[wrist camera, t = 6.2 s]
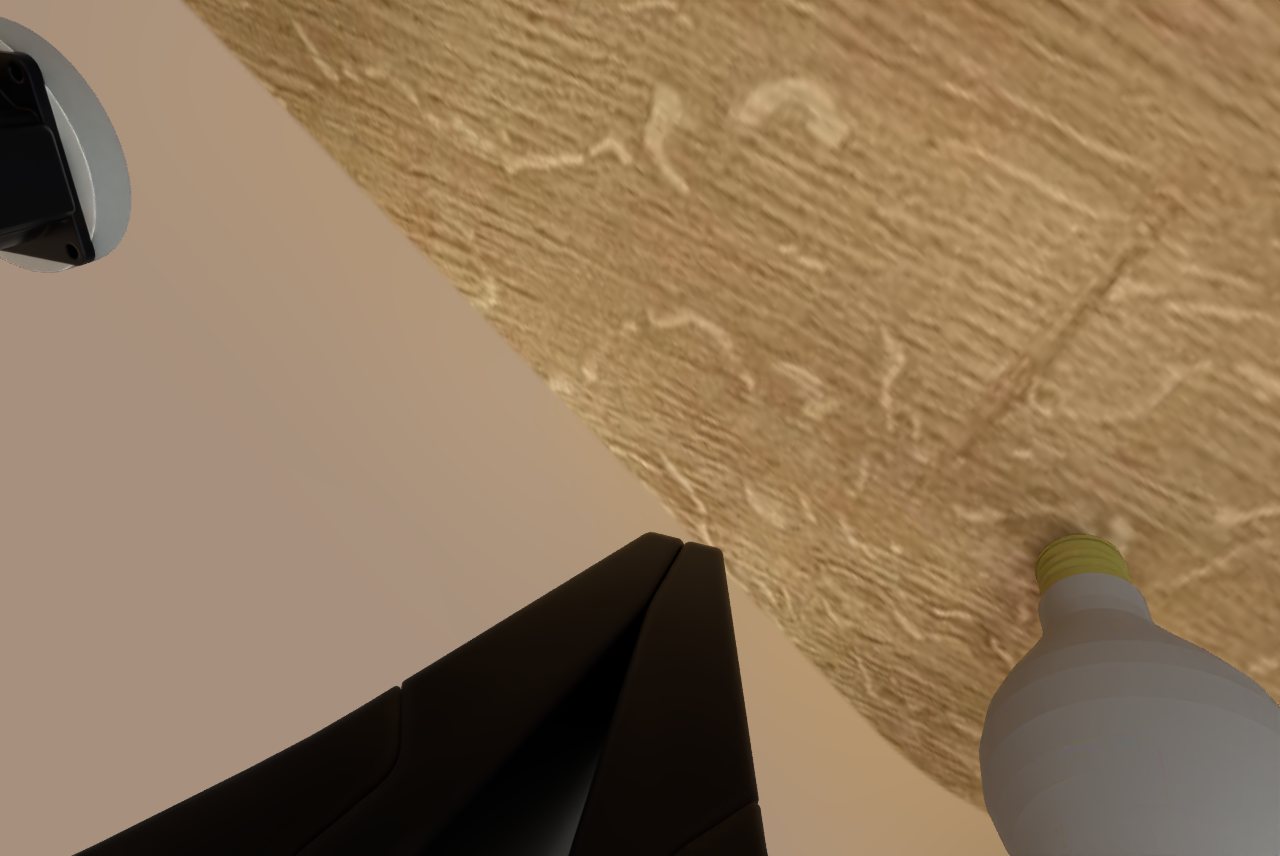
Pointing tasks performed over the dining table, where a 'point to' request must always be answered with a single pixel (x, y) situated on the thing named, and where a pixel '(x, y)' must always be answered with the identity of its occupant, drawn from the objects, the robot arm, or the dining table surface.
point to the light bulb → (1125, 730)
